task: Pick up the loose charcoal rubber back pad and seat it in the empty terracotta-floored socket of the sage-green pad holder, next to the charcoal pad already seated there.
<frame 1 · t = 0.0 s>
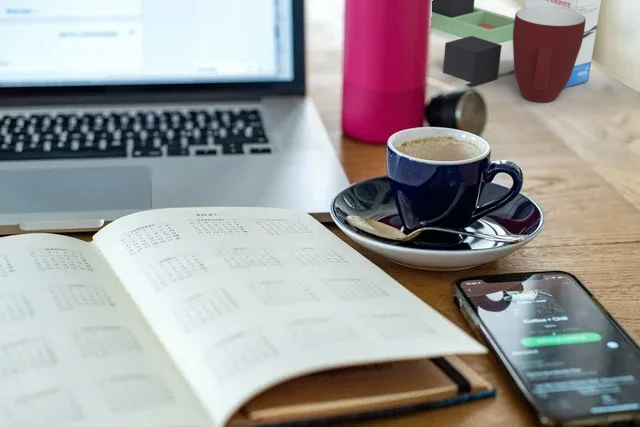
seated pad: (448, 22, 133), resting on holder
mug: (539, 102, 106), on the table
holder: (466, 31, 131), on the table
pad: (470, 77, 113), on the table
ink box: (551, 77, 114), on the table
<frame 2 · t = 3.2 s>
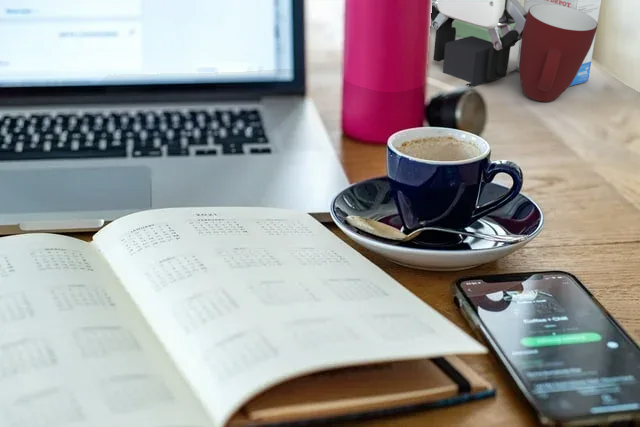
hand: (469, 67, 113), 1 cm above the table, tool pointing down, fingers open, 8 cm apart
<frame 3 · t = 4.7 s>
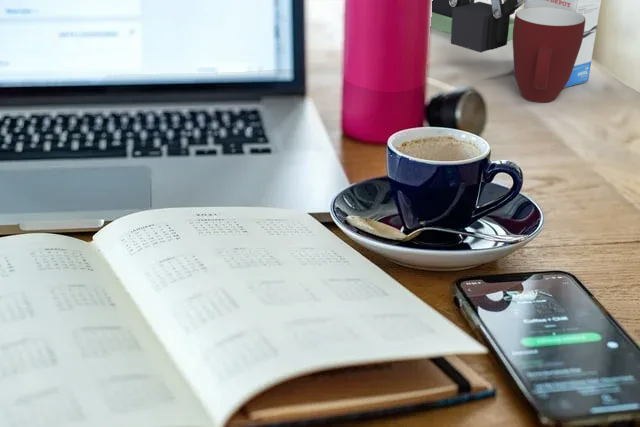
hand: (478, 40, 111), 5 cm above the table, tool pointing down, fingers closed on pad, 5 cm apart
pad: (478, 44, 111), point 4 cm above the table, touching gripper
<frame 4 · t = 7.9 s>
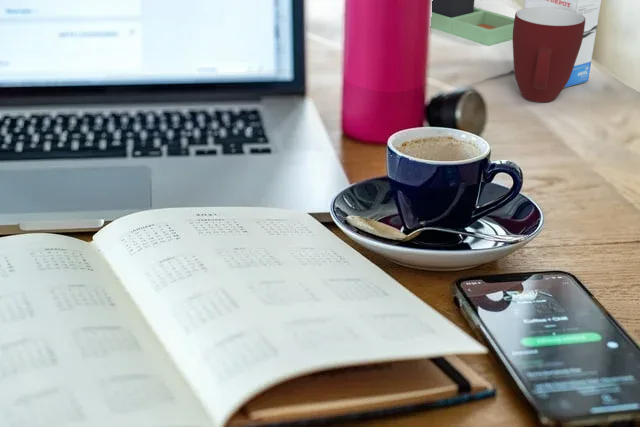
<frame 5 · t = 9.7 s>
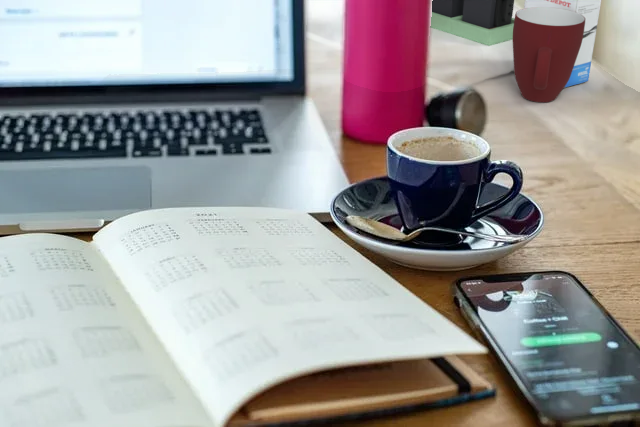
hand: (486, 18, 127), 3 cm above the table, tool pointing down, fingers closed on pad, 5 cm apart
pad: (486, 22, 128), point 2 cm above the table, touching gripper
everything else where it was.
when the fingers open (3 cm above the table, at t = 12.4 s): pad drops 2 cm, resting on holder.
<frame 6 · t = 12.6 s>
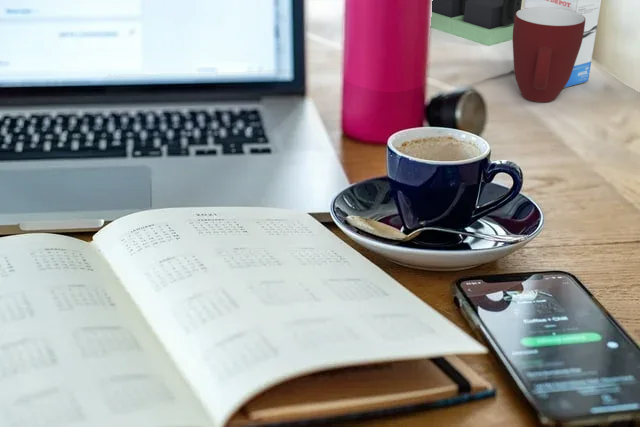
hand: (489, 17, 127), 3 cm above the table, tool pointing down, fingers open, 6 cm apart
pad: (486, 32, 128), point 1 cm above the table, touching holder
everything else where it was.
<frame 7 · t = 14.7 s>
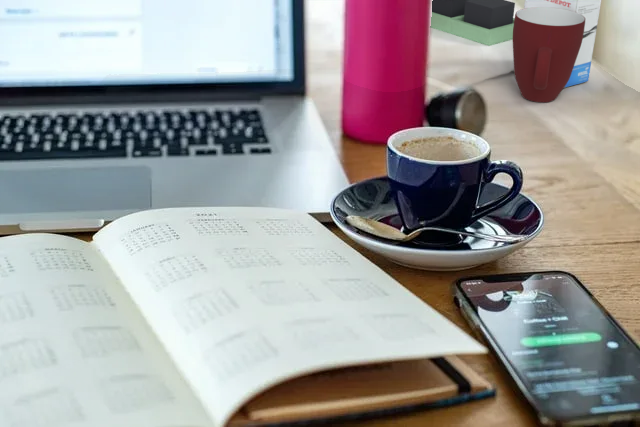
nothing on the table moved.
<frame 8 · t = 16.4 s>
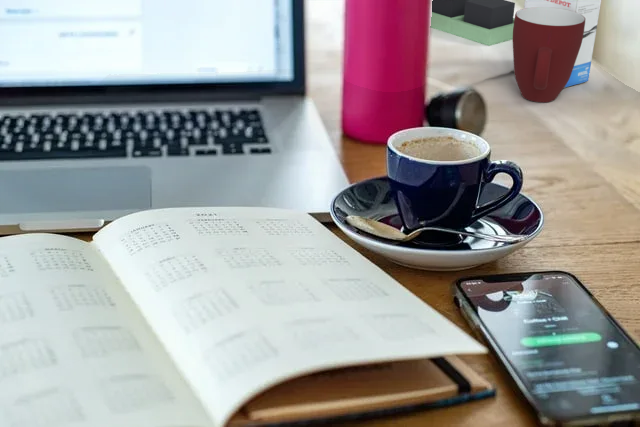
nothing on the table moved.
at the end: pad 0.2 cm from the target spot in the holder, point 0.8 cm above the holder's base; pad tilted 0°; pad 7.4 cm from the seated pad (horizontally) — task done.
